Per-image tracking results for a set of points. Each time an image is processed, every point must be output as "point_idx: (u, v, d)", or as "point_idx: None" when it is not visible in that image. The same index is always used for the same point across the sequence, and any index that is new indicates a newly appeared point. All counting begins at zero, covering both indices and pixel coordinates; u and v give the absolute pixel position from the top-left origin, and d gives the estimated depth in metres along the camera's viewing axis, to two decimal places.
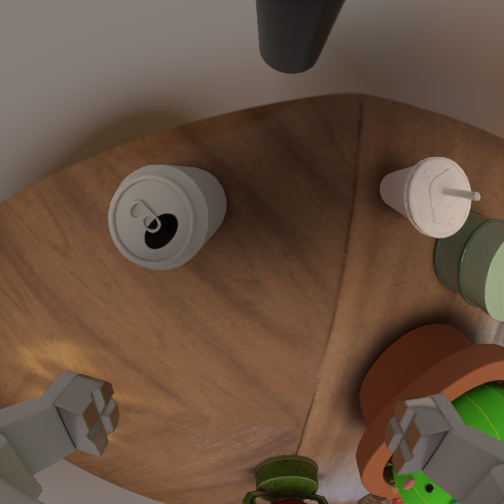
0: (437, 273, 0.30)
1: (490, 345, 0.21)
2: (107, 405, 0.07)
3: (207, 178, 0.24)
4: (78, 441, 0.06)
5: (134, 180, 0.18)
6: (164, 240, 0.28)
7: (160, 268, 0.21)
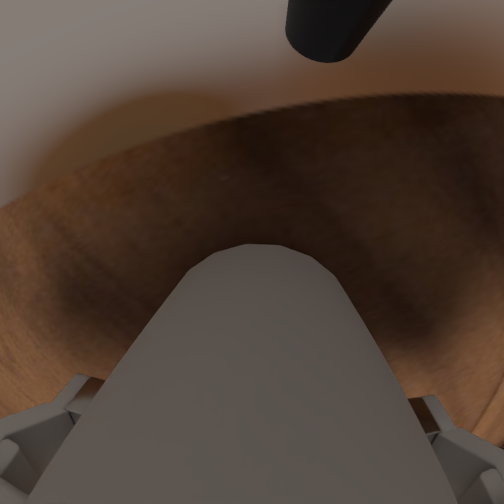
0: None
1: None
2: None
3: None
4: None
5: None
6: None
7: None
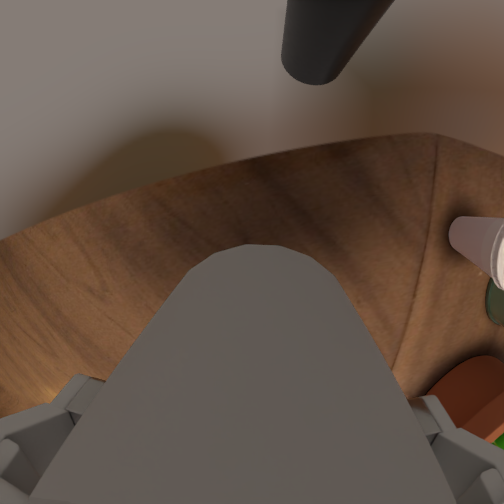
0: (487, 310, 0.28)
1: None
2: None
3: None
4: None
5: None
6: None
7: None
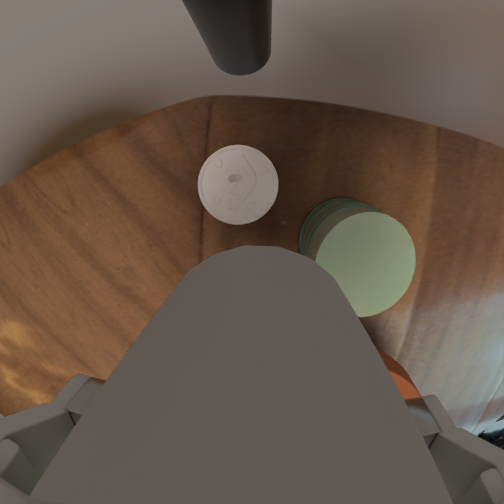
0: None
1: None
2: None
3: None
4: None
5: None
6: None
7: None
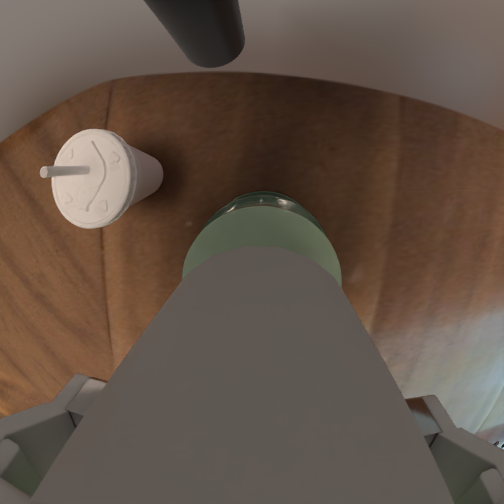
0: None
1: None
2: None
3: (370, 337, 0.07)
4: None
5: None
6: None
7: None
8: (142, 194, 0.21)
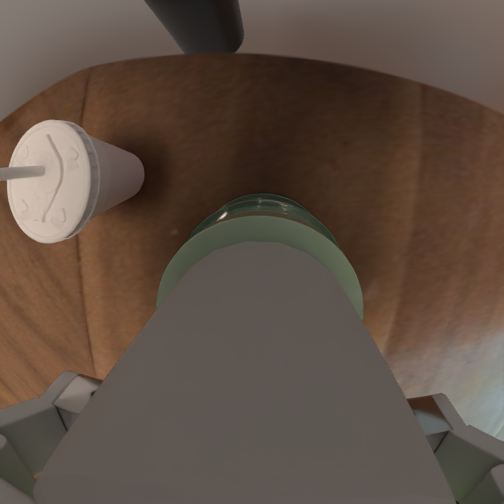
0: None
1: None
2: None
3: None
4: None
5: None
6: None
7: None
8: (114, 199, 0.17)
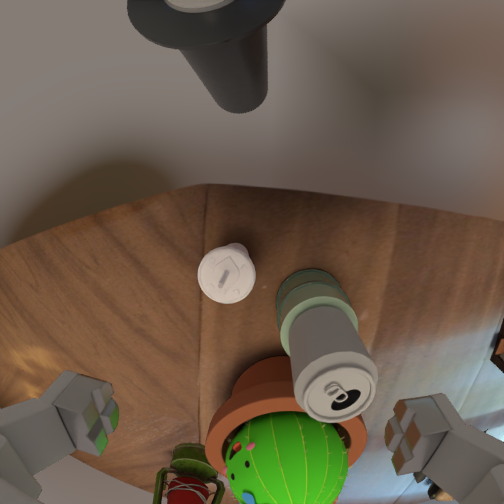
0: None
1: None
2: (107, 405, 0.07)
3: (357, 333, 0.28)
4: (78, 441, 0.06)
5: (335, 372, 0.21)
6: None
7: None
8: None
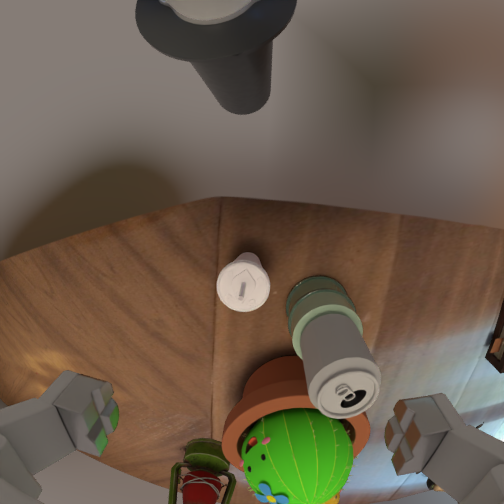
0: None
1: None
2: (107, 405, 0.07)
3: (362, 339, 0.31)
4: (78, 441, 0.06)
5: (345, 376, 0.24)
6: None
7: None
8: None
